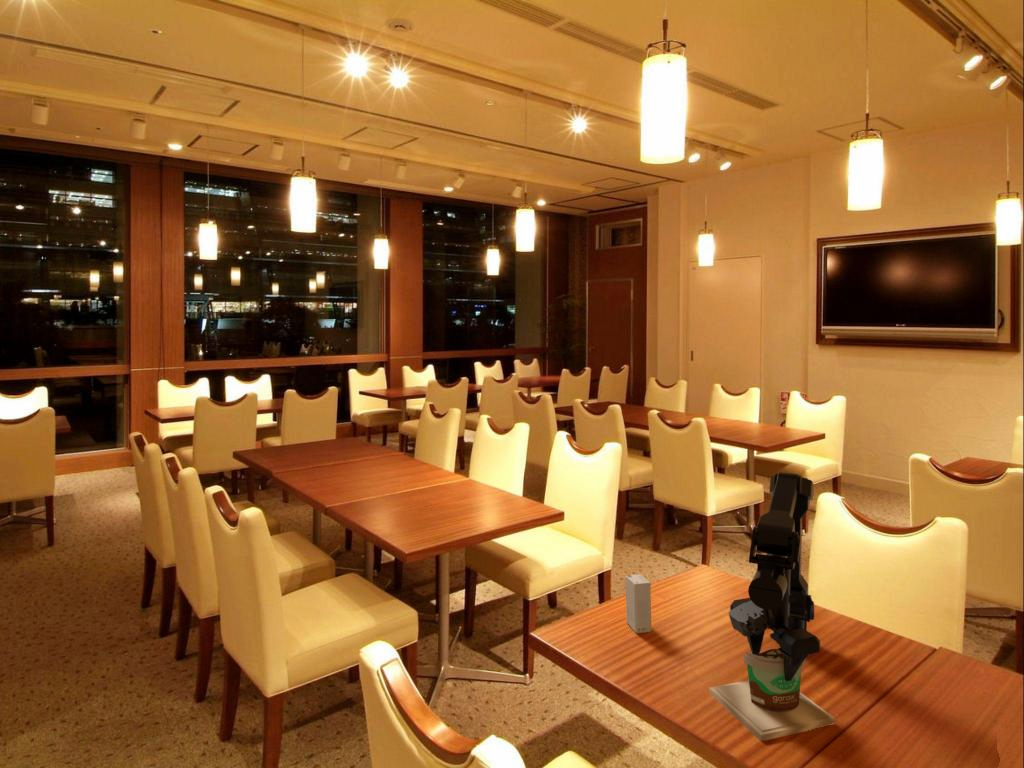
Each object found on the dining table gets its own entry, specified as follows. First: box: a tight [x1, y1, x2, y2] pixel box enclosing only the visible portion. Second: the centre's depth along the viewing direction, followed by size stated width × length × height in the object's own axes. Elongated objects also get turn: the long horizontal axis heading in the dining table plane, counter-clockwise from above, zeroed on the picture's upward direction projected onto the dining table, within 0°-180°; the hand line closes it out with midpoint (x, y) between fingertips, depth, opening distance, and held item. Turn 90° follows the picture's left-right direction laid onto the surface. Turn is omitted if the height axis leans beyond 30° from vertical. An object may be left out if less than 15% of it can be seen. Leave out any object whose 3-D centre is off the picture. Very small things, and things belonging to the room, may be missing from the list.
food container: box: [743, 648, 806, 711], centre depth 126 cm, size 12×6×10 cm, turn 108°
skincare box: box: [625, 573, 652, 634], centre depth 161 cm, size 6×4×12 cm
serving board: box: [708, 679, 836, 742], centre depth 128 cm, size 16×16×2 cm
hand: (771, 668), depth 127 cm, fingers open, 9 cm apart
